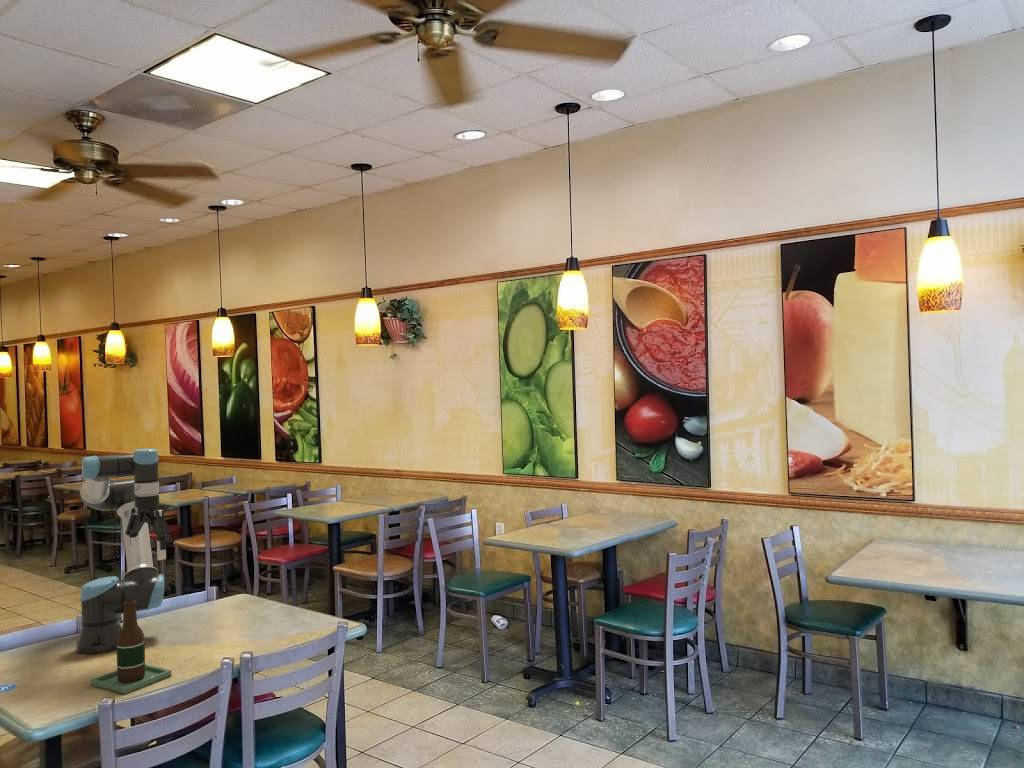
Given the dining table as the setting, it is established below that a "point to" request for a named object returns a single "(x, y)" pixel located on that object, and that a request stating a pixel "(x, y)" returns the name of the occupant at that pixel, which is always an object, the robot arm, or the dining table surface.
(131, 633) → the beer bottle
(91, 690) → the dining table surface
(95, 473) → the robot arm
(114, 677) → the tray
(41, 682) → the dining table surface
